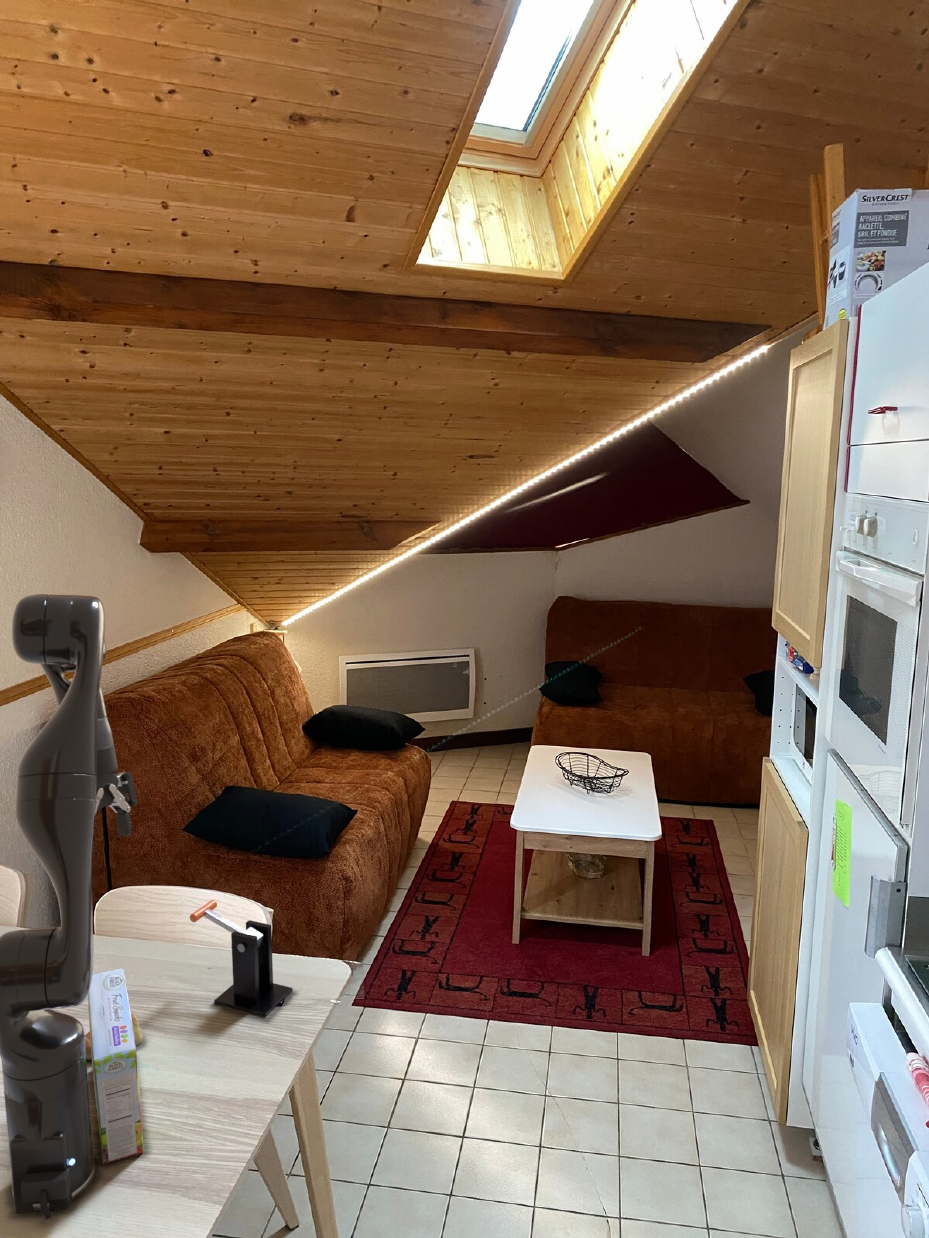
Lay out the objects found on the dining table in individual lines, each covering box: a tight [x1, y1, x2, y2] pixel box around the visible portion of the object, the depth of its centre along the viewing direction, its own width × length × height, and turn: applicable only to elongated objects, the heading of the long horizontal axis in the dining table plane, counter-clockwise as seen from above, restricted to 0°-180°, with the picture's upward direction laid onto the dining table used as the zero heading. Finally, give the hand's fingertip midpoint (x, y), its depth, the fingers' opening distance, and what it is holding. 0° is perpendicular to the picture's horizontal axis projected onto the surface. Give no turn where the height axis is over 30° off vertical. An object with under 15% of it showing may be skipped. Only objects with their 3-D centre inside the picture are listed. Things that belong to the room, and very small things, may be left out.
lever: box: [189, 899, 264, 948], centre depth 150 cm, size 12×6×2 cm, turn 68°
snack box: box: [87, 967, 145, 1165], centre depth 124 cm, size 21×6×15 cm, turn 25°
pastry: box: [85, 1012, 144, 1061], centre depth 138 cm, size 9×7×4 cm
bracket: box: [213, 919, 294, 1018], centre depth 150 cm, size 10×8×13 cm
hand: (107, 843), depth 150 cm, fingers open, 8 cm apart
